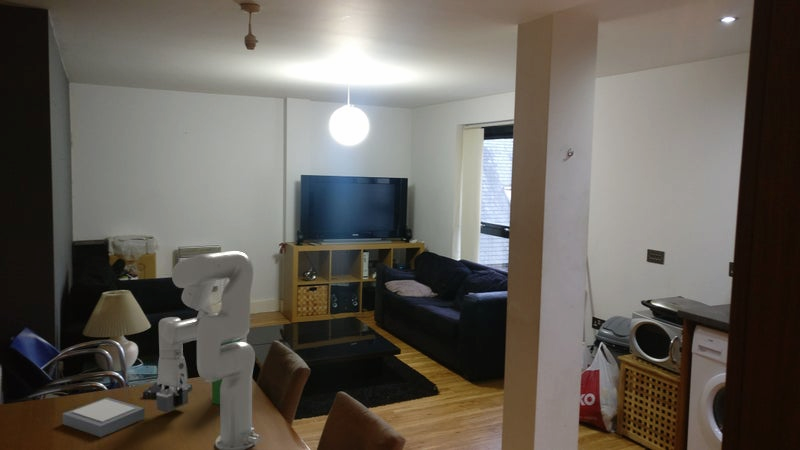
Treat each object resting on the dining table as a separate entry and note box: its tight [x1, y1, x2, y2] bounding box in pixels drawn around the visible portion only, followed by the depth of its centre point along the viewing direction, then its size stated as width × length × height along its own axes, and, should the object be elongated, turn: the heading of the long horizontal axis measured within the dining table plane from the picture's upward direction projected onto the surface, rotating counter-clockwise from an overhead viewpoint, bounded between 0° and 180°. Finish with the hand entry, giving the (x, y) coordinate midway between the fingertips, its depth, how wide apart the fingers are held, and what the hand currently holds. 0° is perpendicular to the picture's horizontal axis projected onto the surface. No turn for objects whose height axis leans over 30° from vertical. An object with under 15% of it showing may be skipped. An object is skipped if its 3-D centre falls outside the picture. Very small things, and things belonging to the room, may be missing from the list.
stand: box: [61, 397, 146, 438], centre depth 186 cm, size 20×16×4 cm
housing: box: [156, 387, 189, 413], centre depth 193 cm, size 5×9×6 cm, turn 153°
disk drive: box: [142, 382, 193, 399], centre depth 211 cm, size 10×3×15 cm
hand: (172, 403), depth 193 cm, fingers closed on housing, 5 cm apart
